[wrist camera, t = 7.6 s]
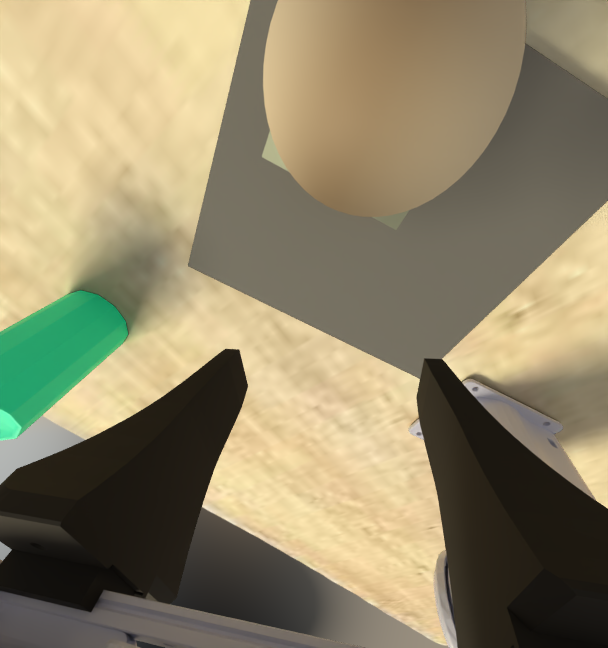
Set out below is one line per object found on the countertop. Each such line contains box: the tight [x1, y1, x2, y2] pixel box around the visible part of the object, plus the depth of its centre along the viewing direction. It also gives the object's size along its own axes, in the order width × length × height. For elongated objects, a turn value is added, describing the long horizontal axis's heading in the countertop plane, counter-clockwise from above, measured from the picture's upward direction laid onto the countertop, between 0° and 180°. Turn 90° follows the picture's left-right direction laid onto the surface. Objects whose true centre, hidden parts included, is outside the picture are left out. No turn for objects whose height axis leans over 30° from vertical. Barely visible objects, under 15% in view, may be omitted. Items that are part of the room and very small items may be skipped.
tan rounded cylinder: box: [263, 0, 526, 217], centre depth 8 cm, size 5×5×5 cm
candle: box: [0, 290, 128, 440], centre depth 21 cm, size 6×6×12 cm
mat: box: [188, 0, 608, 379], centre depth 18 cm, size 20×18×1 cm
